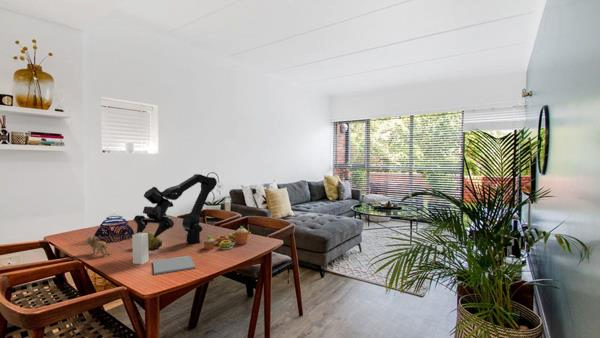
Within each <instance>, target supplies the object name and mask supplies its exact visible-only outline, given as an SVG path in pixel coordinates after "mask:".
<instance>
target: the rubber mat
mask: <svg viewBox="0 0 600 338" xmlns="http://www.w3.org/2000/svg"><path fill="white" fill-rule="evenodd" d="M152 263H153V275H154V276H155V275H160V274H161V273H162V274H167V272H169V273H174V271H175V272H180V270H181V271H185V270H186V271H187V270H192V269H193V270H194V269H196V266H195V263H194V261H193V259H192V257H191V255H183V256H176V257H170V258H169V257H168V258H163V259H161V258H160V259H156V260H152Z"/></svg>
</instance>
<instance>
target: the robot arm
mask: <svg viewBox="0 0 600 338" xmlns="http://www.w3.org/2000/svg"><path fill="white" fill-rule="evenodd" d="M198 183H199V184H200V191H199V194H198V195H197V198H196V200H195V202H194V204H193V207H192V209H191V211H190V213H188V214H185V215H184V218H183V219H182V220H181V221H182V224H181V225H182V228H184V231H185V232H186V234H185V239H186V240H185V241H186V243H187V245H192V244H193V245H194V244H200V243H201V240H200V239H201V238H200V236H201V235H200V233H201V232H202V231H203V227H202V226H201V224H200V215H201V213H202V210H203V207H204V206H205V204H206V201H207V199H208V196H209V195H210V193H211V192H212V191H213V190H214V189H215V187H216V186H217V184H218V181H217V178H216V177H214V176H213V177H212V176H206V175H203V174H201V173H200V174H199V173H195V174H193V175H192V176H191V177H189V178H187V179H185V180H184V181H182V182H181V183H179V184H177V185H174V186H170V187H168V188H165V189H164V190H163V191H160V190H159V189H158V187H156V186H152V188H150V189H148V190H147V191H145V193H144V194H143V198H145V199H146V200H147V201H148V202H149V203H151V204H152V205H155V206H144V207H143V211H142V214H144V215H138V214H137V215H135V216H134V218H133V221H134V222H135V223H136V224H137V225H136V226H137V227H136V233H139V232H140V233H143V232H144V231H145V229H146V228H147V226H148V224H158V226H157V228H156V230H155V232H154V238H156V237H159V236H160V235H161V234H163V233H164V232H165V231H167V230H170V229H172V228H173V227H174V225H175V222H174V221H173V219H172V218H171V217H170V216H167V211H168V209H169V208H173V207H174V203H173V201H176V200H178V199H179V198H180V197H181V196H182V195H183V193H184V192H186V191H187V190H189V189H190V188H192V187H193V186H195V185H197V184H198ZM171 200H172V201H171ZM145 215H146V217H147V218H146V217H145Z"/></svg>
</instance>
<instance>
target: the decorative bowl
mask: <svg viewBox="0 0 600 338" xmlns="http://www.w3.org/2000/svg"><path fill="white" fill-rule="evenodd" d="M110 224H111V225H110ZM99 226H100V227H98V229H97V230H96V231H95V233H94V235H93V236H96V237H97V238H99V239H100V241H101V242H105V243H106V244H109V243H110V244H111V242H112V243H118V242H117V241H119V242H123V240H124V241H127V240H126V239H128V240H130V239H132V235H134V234H135V232H134V229H133V227H131V226H130V225H129V221H127V219H125V218H123V216H122V215H120V213H119V212H117V213H116V212H114V213H109V214H108V216H107V217H106V218H105V220H103V221H102V222H101V223H100V225H99ZM117 233H118V234H117ZM122 233H123V234H122ZM125 233H127V234H125ZM109 234H110V235H109ZM116 235H117V236H116ZM129 238H130V239H129Z"/></svg>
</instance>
